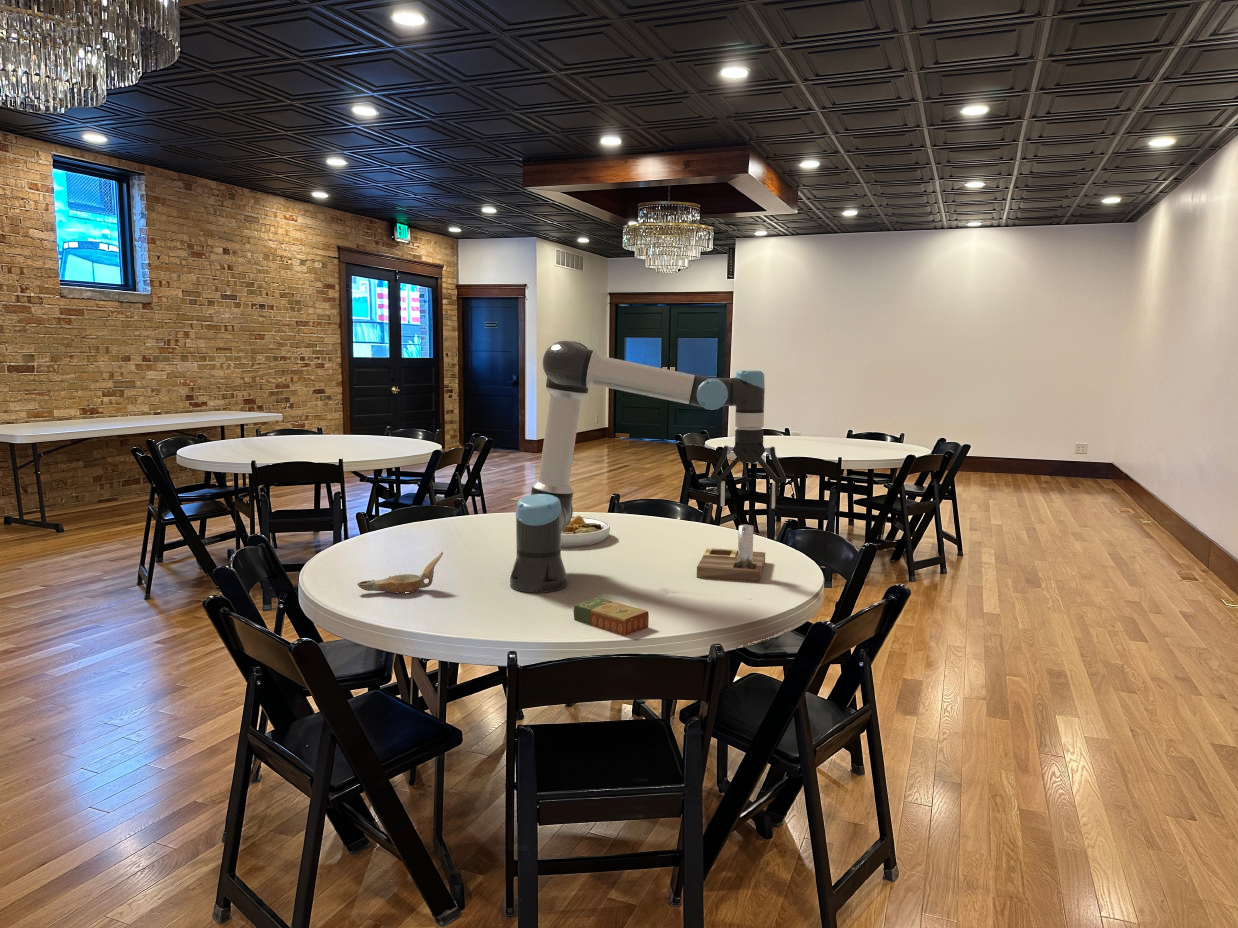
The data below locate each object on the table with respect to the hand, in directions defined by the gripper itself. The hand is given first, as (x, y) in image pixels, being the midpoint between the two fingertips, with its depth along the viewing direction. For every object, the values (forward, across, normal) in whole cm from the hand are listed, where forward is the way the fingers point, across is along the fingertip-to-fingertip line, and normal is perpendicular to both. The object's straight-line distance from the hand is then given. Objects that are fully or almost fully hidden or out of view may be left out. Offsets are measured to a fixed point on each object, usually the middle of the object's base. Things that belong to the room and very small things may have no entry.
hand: (747, 506), depth 217 cm
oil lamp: (+20, +85, +35) cm, 94 cm away
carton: (+21, +27, +45) cm, 56 cm away
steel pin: (+19, 0, 0) cm, 19 cm away
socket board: (+20, +4, -6) cm, 22 cm away
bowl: (+20, +63, -35) cm, 75 cm away
